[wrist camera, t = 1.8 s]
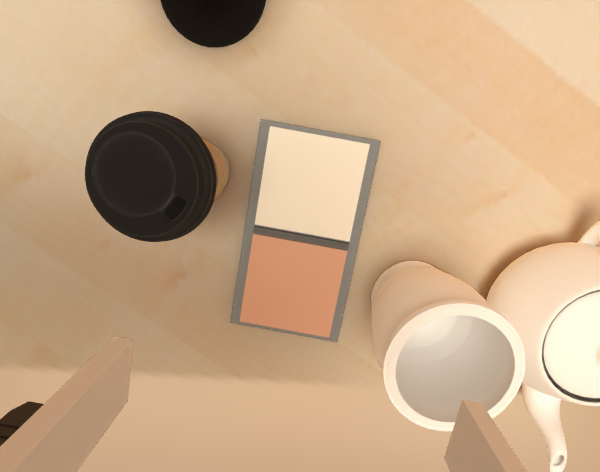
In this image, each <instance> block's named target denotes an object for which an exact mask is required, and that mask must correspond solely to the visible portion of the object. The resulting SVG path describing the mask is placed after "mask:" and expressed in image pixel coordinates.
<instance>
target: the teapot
mask: <svg viewBox="0 0 600 472" xmlns="http://www.w3.org/2000/svg"><path fill="white" fill-rule="evenodd" d="M599 243H600V220H599V221H598V222H596V223H595V224H594V225H593V226H592V227H591V228H589V229H588V231H587V232H586V233H585V234H584V235H583V236H582V237H581V238H580V240H579V241H578V242H577V243H574V242H566V243H554V244H550V245H547V246H543V247H539V248H536V249H534V250H532V251H530V252H527V253H525V254H523V255H522V256H520V257H519V258H517V259H516V260H514V261H513V262H512V263H510V264H509V265H508V266H507V267H506V268H505V269H504V270H503V271H502V272H501V273H500V275H499V276H498V278H497V279H496V280H495V282H494V283H493V285H492V287H491V289H490V291H489V294H488V296H487V298H486V301H487V303H488V304H489V305H490V307H491V308H492V309H494V310H496V311H497V312H499V313H500V314H501V315H503V316H504V317H505V318H506V319H507V320H508V321H509V322H510V323H511V325H512V326H513V327H514V329H515V330H516V332H517V333H518V335H519V337H520V339H521V341H522V344H523V347H524V351H525V360H526V364H525V373H524V377H523V381H522V393H523V400H524V403H525V406H526V408H527V410H528V412H529V414H530V415H531V417H532V419H533V421H534V422H535V423H536V425H537V426H538V428H539V430H540V432H541V433H542V435H543V437H544V439H545V442H546V444H547V448H548V451H549V463H550V472H562V471H563V469H564V467H565V465H566V461H567V448H566V441H565V437H564V433H563V429H562V425H561V420H560V403H561V399H562V400H566V401H569V402H573V403H577V404H581V405H589V406H600V247H597V245H598V244H599ZM571 302H572V303H571ZM569 303H571V304H570V305H568V304H569ZM567 305H568V306H567ZM565 306H567V307H566V308H565V309H564V310H563V311H562V312H560V311H561V310H562V309H563V308H564V307H565ZM559 312H560V313H559ZM558 313H559V315H558V316H557V314H558ZM556 316H557V317H556ZM555 317H556V319H555V320H554V318H555ZM553 320H554V321H553ZM552 321H553V323H552V324H551V322H552ZM550 324H551V326H550ZM549 326H550V327H549Z"/></svg>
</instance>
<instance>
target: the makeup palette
mask: <svg viewBox="0 0 600 472" xmlns="http://www.w3.org/2000/svg"><path fill="white" fill-rule="evenodd" d="M380 142H381V141H378V140H372V139H367V138H361V137H356V136H350V135H345V134H340V133H334V132H329V131H323V130H318V129H312V128H307V127H301V126H296V125H290V124H285V123H279V122H274V121H268V120H263V119H261V123H260V130H259V137H258V143H257V150H256V157H255V163H254V170H253V176H252V183H251V190H250V196H249V203H248V210H247V216H246V223H245V229H244V236H243V243H242V249H241V256H240V263H239V269H238V276H237V282H236V289H235V296H234V302H233V309H232V316H231V322H230V323H235V324H240V325H246V326H251V327H257V328H262V329H267V330H273V331H278V332H284V333H289V334H295V335H300V336H306V337H311V338H317V339H322V340H328V341H333V342H337V341H338V336H339V332H340V327H341V322H342V318H343V313H344V308H345V304H346V299H347V294H348V290H349V285H350V281H351V276H352V271H353V267H354V262H355V257H356V253H357V248H358V244H359V239H360V234H361V230H362V225H363V220H364V216H365V211H366V207H367V202H368V197H369V193H370V188H371V183H372V179H373V174H374V170H375V165H376V160H377V156H378V151H379V146H380Z"/></svg>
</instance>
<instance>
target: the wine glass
mask: <svg viewBox="0 0 600 472" xmlns="http://www.w3.org/2000/svg"><path fill="white" fill-rule="evenodd" d="M265 2H266V0H161V3H162V6H163V9H164V11H165V14H166V16H167V18H168V19H169V21H170V22H171V24H172V25H173V26H174V27H175V29H176V30H177V31H178V32H179V33H180V34H182V35H183V36H184V37H185V38H187V39H189V40H190V41H192V42H194V43H196V44H199V45H202V46H206V47H224V46H228V45H231V44H234V43H236V42H238V41H240V40H241V39H243V38H244V37H245V36H247V35H248V34H249V33H250V32H251V31H252V30H253V29H254V27H255V26H256V24H257V23H258V21H259V19H260V17H261V15H262V13H263V10H264V7H265Z"/></svg>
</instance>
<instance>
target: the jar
mask: <svg viewBox="0 0 600 472" xmlns="http://www.w3.org/2000/svg"><path fill="white" fill-rule="evenodd" d="M371 305H372V322H371V335H372V342H373V347H374V351H375V354H376V357H377V359H378V362H379V364H380V366H381V368H382V373H383V380H384V384H385V388H386V391H387V394H388V396H389V398H390V400H391V402H392V403H393V405H394V406H395V407H396V409H397V410H398V411H399V412H400V413H401V414H402V415H404V416H405V417H406V418H407V419H409V420H410V421H412V422H414V423H416V424H418V425H420V426H422V427H425V428H428V429H433V430H438V431H453V428H454V425H455V421H456V418H457V415H458V412H459V408H460V405H461V402H462V399H465V400H470V401H476V402H481V403H482V404H483V406H484V407H485V409H486V410H487V412H488V413H489V415H490V416H491V418H494V417H495V416H497V415H498V414H499V413H500V412H502V411H503V410H504V409H505V408H506V407H507V406H508V405H509V403H510V402H511V401H512V400H513V398H514V397H515V395H516V394H517V392H518V390H519V388H520V386H521V383H522V381H523V377H524V373H525V364H526V360H525V351H524V347H523V344H522V341H521V339H520V337H519V335H518V333H517V332H516V330H515V329H514V327H513V326H512V325H511V323H510V322H509V321H508V320H507V319H506V318H505V317H504V316H503V315H501V314H500V313H499V312H497V311H496V310H494V309H492V308H491V307H490V305H489V304H488V303H487V301H486V300H485V299H484V298H483V297H482V296H481V295H480V294H479V293H478V292H477V291H476V290H475V289H473V288H472V287H471V286H470V285H468V284H467V283H465V282H464V281H462V280H460V279H458V278H456V277H454V276H452V275H449V274H447V273H445V272H443V271H440V270H437V269H436V268H435V267H433V266H432V265H430V264H427V263H425V262H421V261H405V262H401V263H398V264H395V265H393V266H391V267H390V268H388V269H387V270H386V271H384V272H383V273H382V274H381V275H380V277H379V278H378V279H377V281H376V283H375V285H374V287H373V290H372V295H371Z"/></svg>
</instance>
